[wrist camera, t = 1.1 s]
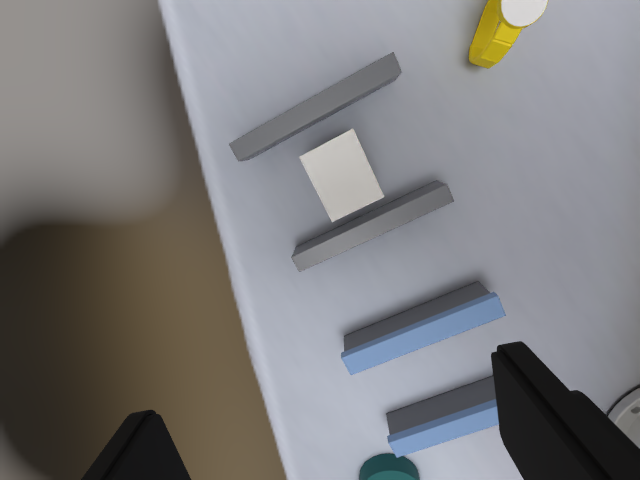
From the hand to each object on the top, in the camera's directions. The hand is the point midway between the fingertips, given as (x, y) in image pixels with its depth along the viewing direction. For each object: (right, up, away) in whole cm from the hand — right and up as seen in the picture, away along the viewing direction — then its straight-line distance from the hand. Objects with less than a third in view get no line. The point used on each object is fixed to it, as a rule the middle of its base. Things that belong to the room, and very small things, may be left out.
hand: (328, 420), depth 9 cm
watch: (+13, +21, +17) cm, 30 cm away
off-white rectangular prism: (+2, +11, +20) cm, 23 cm away
